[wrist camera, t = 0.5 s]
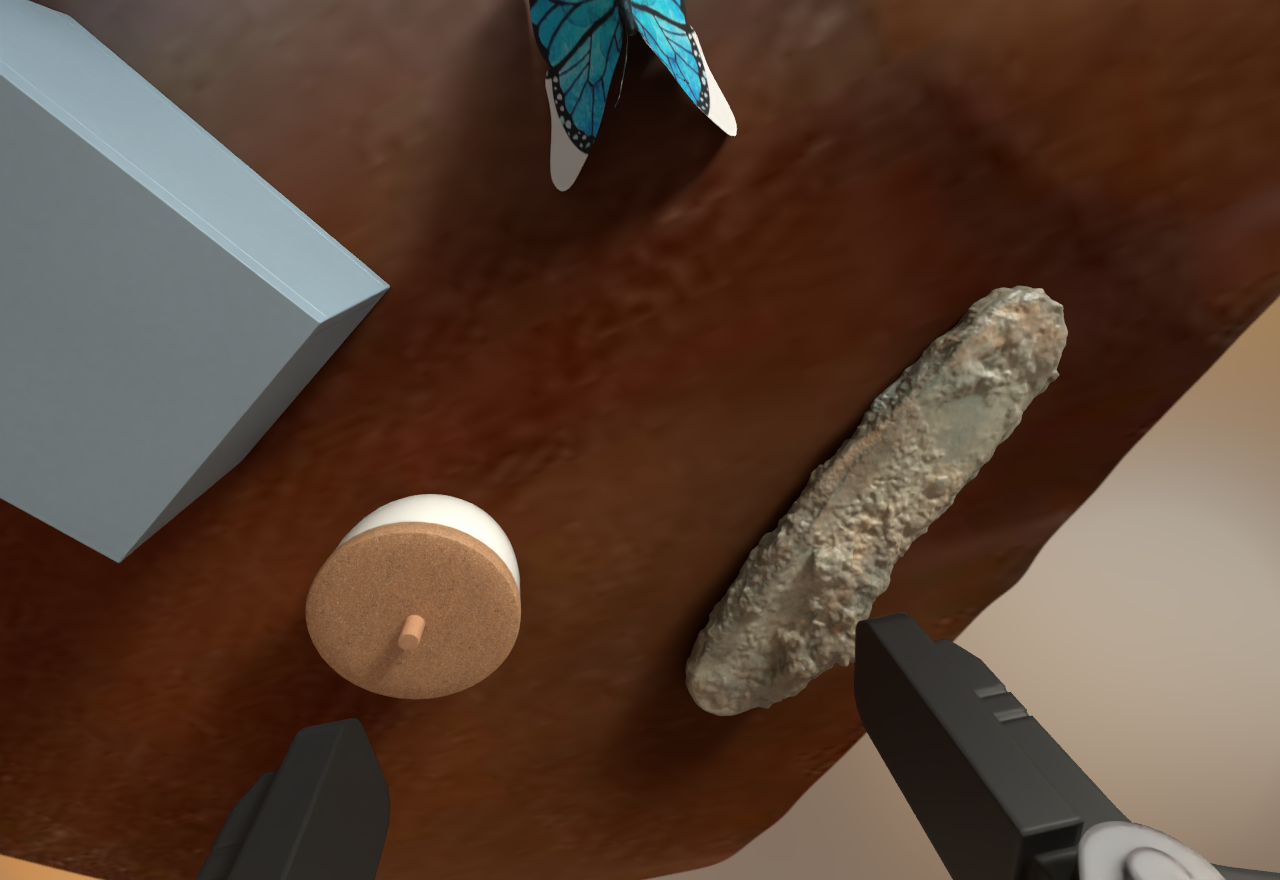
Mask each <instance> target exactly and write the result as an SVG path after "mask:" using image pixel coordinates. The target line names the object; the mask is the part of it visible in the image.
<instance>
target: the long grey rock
mask: <svg viewBox="0 0 1280 880" xmlns="http://www.w3.org/2000/svg"><path fill="white" fill-rule="evenodd" d="M1067 335H1068V331H1067V328H1066V325H1065V323H1064V314H1063V306H1062V305H1061V304H1059V303H1057V302H1055V301H1053V300H1051V299H1050V298H1049V297H1048V296H1047V295H1046V294H1045V292H1044V290H1043V289H1041V288H1040V289H1033V288H1030V287H1024V286H1016V287H1014V288H1012V289H1009V288H999V289H995V290H992V291H991V292H990V293H989V294H988V295H987V296H986V297H985V298H982V299H980V300H979V301H977V302H975V303H974V304H972V305H971V306H970V308H969V309H968V310H967V311H966V313H965V315H964V316H963V317H962V318H961V320H960V321H959V322H958V323H957V325H955V326H954V327H953V328H952V329H951V330H950V331H948V332H947V333H945V334H944V335H943V336H941V337H938V338H937V339H935V340H934V341H933V342H932V343H931V344H930V346H929V347H928V348H927V349H926V350H925V351H924V352H923V354H922V356H921V357H920V358H919V360H918V361H917V362H916V363H915V364H913V365H911V366H910V367H908V368H906V369H905V370H904V372H903V373H902V374H901V376H900V377H899V378H898V380H897V381H896V382H894V383H893V384H892V385H890V387H888V388H887V389H885V390H884V391H883V392H882V393H881V394H880V395H879V396H878V397H877V398H875V399H874V401H873V403H872V404H871V405H870V409H869V410H868V411H867V412H865V414H864V417H863V420H862V422H861V424H860V426H858V427H857V430H856V431H855V432H854V433H853V435H852V437H851V438H850V439H846V440H845V441H844V442H843V444H842V446H841V447H840V448H839V449H838V450H837V452H836V454H835V455H834V456H833V457H832V458H830V460H828V461H826V462H825V463H824V465H819V466H818V467H817V468H816V469H815V470H814V471H813V472H812V473H811V476H810V478H809V482H808V483H807V486H806V487H805V489H804V490H803V491H802V493H801V494H800V497H799V498H798V499H797V500H796V501H795V502H794V503H793V505H792V507H791V508H790V509H789V511H788V513H787V514H786V515H784V516H783V518H781V519H780V520H779V522H778V527H777V528H776V529H775V530H774V531H773V532H770V533H766V534H765V535H764V536H763V537H762V539H761V540H760V541H759V545H758V546H756V547H755V548H754V549H753V550H752V551H751V552H750V554H749V556H748V559H747V560H746V562H745V563H744V565H743V566H742V568H741V570H740V573H739V575H738V577H737V578H736V579H735V581H734V582H733V583H732V585H731V586H730V587H729V589H728V590H727V593H726V595H725V596H724V597H723V598H722V600H721V601H720V602H718V603H717V604H716V605H715V606H714V608H713V611H712V612H711V613H710V614H709V621H708V623H707V625H706V626H705V628H704V629H702V630H700V632H699V634H698V638H697V639H696V642H695V643H694V645H693V649H692V652H691V655H690V657H689V658H688V659H687V662H686V667H685V672H686V680H685V682H686V686H687V688H688V691H689V692H690V694H691V696H692V698H693V700H694V701H695V703H696V704H697V705H698V706H699V707H701V708H702V709H703V710H705V711H707V712H709V713H713V714H715V715H718V716H732V715H735V714H739V713H742V712H744V711H747V710H749V709H753V708H756V707H762V708H769V707H770V706H771V705H772V704H773V703H775V702H780V701H781V700H782V699H783V698H784V699H786V698H787V697H792V696H796V695H797V694H798V693H799V692H800V691H801V690H803V689H804V688H805V687H806V686H807V684H808V682H809V681H810V680H811V679H814V678H817V677H818V676H819V675H820V674H821V673H822V672H824V671H826V670H827V669H831V668H832V667H833V665H834V663H835V662H837V663H839V664H840V665H842V666H848V664H849V662H855V630H856V625H857V623H858V622H859V621H861V620H866V619H868V617H869V615H870V611H871V609H872V603H873V602H874V601H875V599H876V598H877V597H878V596H879V595H880V594H881V593H883V592H885V591H886V589H887V587H888V585H889V583H890V574H891V571H892V569H893V565H894V564H895V563H896V561H897V560H898V558H900V557H902V556H903V555H904V553H905V552H906V551H907V550H908V548H909V547H910V545H911V543H912V542H913V541H914V540H915V539H917V538H918V537H919V536H920V535H922V534H924V533H926V532H927V528H928V527H929V525H930V524H931V523H932V522H933V521H935V520H936V519H938V518H939V517H940V515H941V514H942V513H944V512H945V511H946V510H947V509H948V507H949V506H951V505H952V504H953V500H954V498H955V496H956V494H957V493H958V492H959V491H960V490H961V489H962V488H963V487H964V486H965V484H966V483H967V482H969V481H971V480H972V479H974V478H975V477H976V476H977V474H978V471H979V470H980V468H981V467H982V466H983V465H984V464H985V463H986V462H988V461H989V460H990V458H991V457H992V456H993V453H994V451H995V449H996V447H997V446H998V445H999V444H1000V443H1002V442H1003V441H1004V440H1006V439H1007V438H1008V437H1009V436H1010V435H1011V434H1012V433H1013V430H1014V429H1015V427H1016V426H1017V425H1019V423H1020V421H1021V418H1022V414H1023V412H1024V410H1025V409H1026V408H1027V406H1028V405H1029V404H1030V403H1031V401H1032V400H1033V398H1034V397H1035V396H1037V395H1038V394H1040V393H1043V392H1044V391H1045V390H1046V389H1047V387H1048V385H1049V383H1050V382H1052V381H1054V380H1056V378H1057V377H1058V376H1059V374H1058V372H1057V370H1056V369H1057V366H1058V363H1059V360H1060V358H1061V354H1062V350H1063V348H1064V347H1065V346H1066V337H1067Z"/></svg>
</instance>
